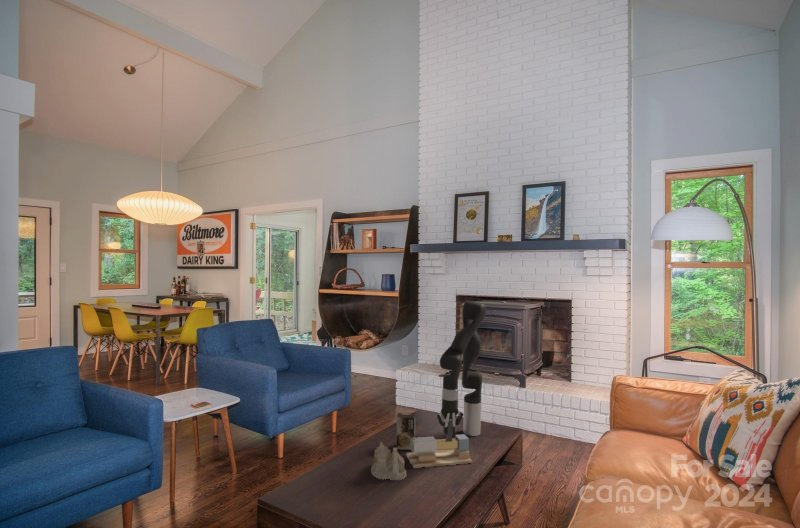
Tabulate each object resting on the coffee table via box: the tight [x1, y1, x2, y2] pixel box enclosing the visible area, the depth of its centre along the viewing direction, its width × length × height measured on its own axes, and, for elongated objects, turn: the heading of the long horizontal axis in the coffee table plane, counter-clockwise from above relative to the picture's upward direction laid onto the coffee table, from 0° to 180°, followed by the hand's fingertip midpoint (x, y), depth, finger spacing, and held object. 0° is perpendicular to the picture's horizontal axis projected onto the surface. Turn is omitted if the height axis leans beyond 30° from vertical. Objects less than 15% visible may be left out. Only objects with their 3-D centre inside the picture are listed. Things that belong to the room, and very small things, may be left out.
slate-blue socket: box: [453, 433, 471, 459], centre depth 214 cm, size 8×5×9 cm, turn 13°
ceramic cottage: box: [370, 441, 407, 481], centre depth 199 cm, size 16×16×15 cm
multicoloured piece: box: [435, 419, 459, 450], centre depth 212 cm, size 3×16×12 cm, turn 103°
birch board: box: [405, 448, 473, 469], centre depth 212 cm, size 14×28×1 cm, turn 103°
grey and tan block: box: [410, 436, 437, 463], centre depth 210 cm, size 10×11×9 cm
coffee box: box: [395, 412, 416, 451], centre depth 225 cm, size 9×6×16 cm
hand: (449, 433), depth 213 cm, fingers closed on multicoloured piece, 2 cm apart
